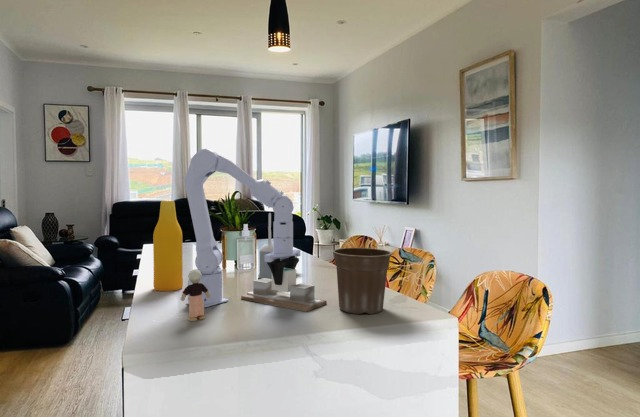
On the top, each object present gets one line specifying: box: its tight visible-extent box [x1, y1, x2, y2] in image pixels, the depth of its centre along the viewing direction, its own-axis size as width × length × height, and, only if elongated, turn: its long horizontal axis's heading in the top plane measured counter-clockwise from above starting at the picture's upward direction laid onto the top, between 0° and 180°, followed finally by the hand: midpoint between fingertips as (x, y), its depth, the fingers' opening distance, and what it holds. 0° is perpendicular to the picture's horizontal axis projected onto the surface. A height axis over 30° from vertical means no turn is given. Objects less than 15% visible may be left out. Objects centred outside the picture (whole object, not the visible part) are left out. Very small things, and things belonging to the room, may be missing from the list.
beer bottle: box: [152, 200, 184, 292], centre depth 150 cm, size 9×9×29 cm
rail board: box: [240, 278, 327, 312], centre depth 133 cm, size 10×24×6 cm, turn 56°
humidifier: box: [257, 212, 273, 280], centre depth 154 cm, size 8×8×25 cm
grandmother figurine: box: [180, 268, 210, 322], centre depth 115 cm, size 8×4×13 cm, turn 141°
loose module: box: [272, 268, 297, 293], centre depth 133 cm, size 4×6×6 cm, turn 56°
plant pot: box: [332, 247, 393, 315], centre depth 125 cm, size 16×16×16 cm
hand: (283, 283), depth 133 cm, fingers closed on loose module, 4 cm apart
